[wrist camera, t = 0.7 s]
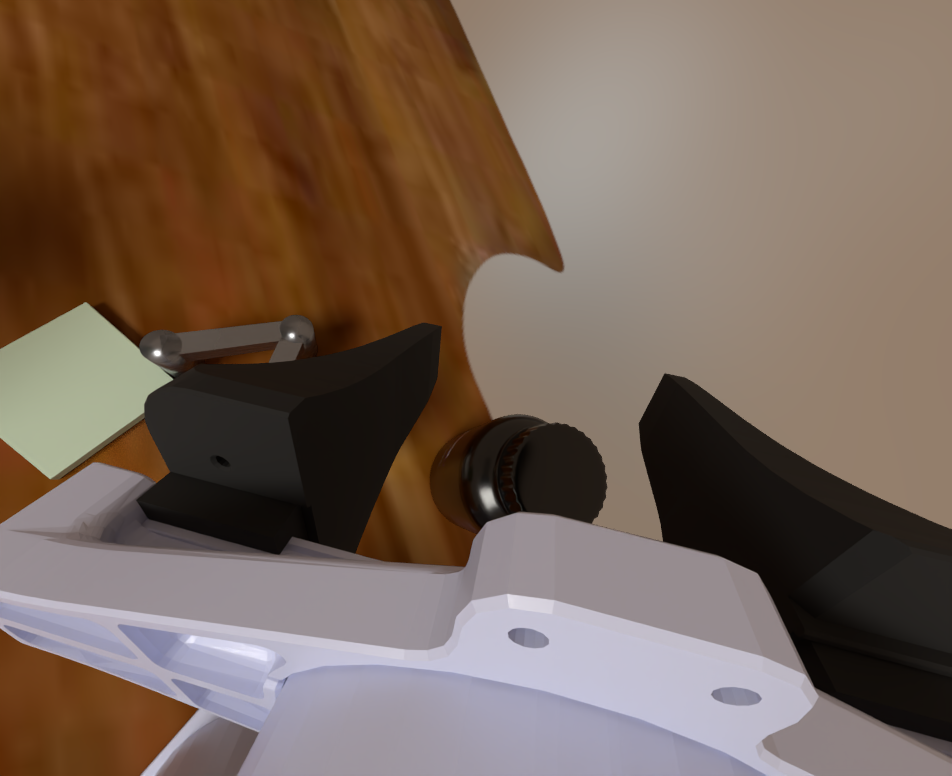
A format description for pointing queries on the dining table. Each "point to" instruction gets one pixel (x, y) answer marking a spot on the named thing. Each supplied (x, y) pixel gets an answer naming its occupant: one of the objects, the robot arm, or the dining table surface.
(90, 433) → the pad
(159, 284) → the dining table surface
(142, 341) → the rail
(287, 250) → the dining table surface
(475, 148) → the dining table surface
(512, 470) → the supplement bottle
